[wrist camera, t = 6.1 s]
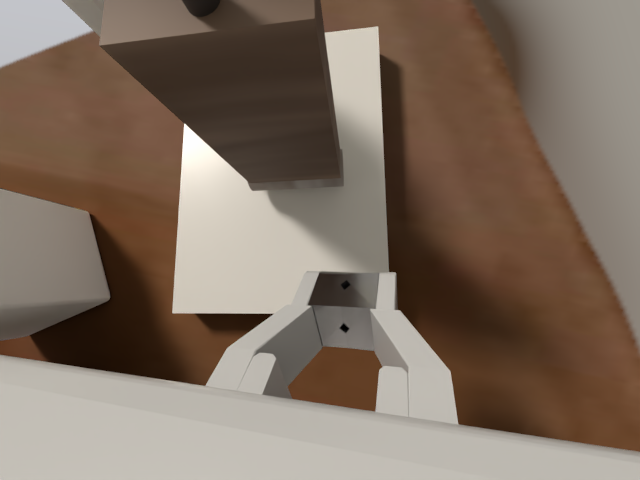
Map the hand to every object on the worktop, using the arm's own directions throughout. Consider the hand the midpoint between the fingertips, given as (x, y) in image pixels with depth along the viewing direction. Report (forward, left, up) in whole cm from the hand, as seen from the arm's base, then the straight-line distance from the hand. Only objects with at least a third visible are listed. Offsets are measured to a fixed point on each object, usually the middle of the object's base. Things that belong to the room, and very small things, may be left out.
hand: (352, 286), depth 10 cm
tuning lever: (+7, 0, -5) cm, 9 cm away
